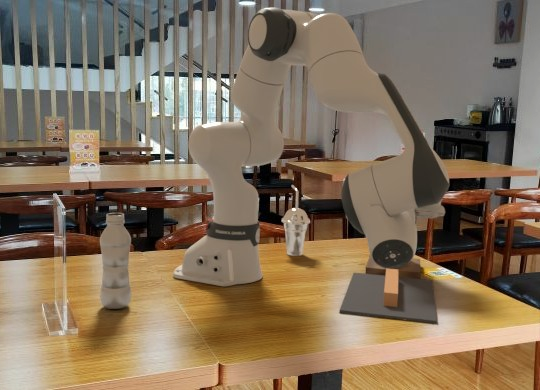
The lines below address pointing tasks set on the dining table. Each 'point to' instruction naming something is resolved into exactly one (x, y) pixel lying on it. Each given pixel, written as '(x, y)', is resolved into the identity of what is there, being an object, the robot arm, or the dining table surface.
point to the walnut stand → (405, 271)
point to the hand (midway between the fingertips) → (390, 179)
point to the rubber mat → (372, 296)
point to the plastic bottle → (115, 263)
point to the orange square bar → (391, 288)
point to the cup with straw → (295, 228)
